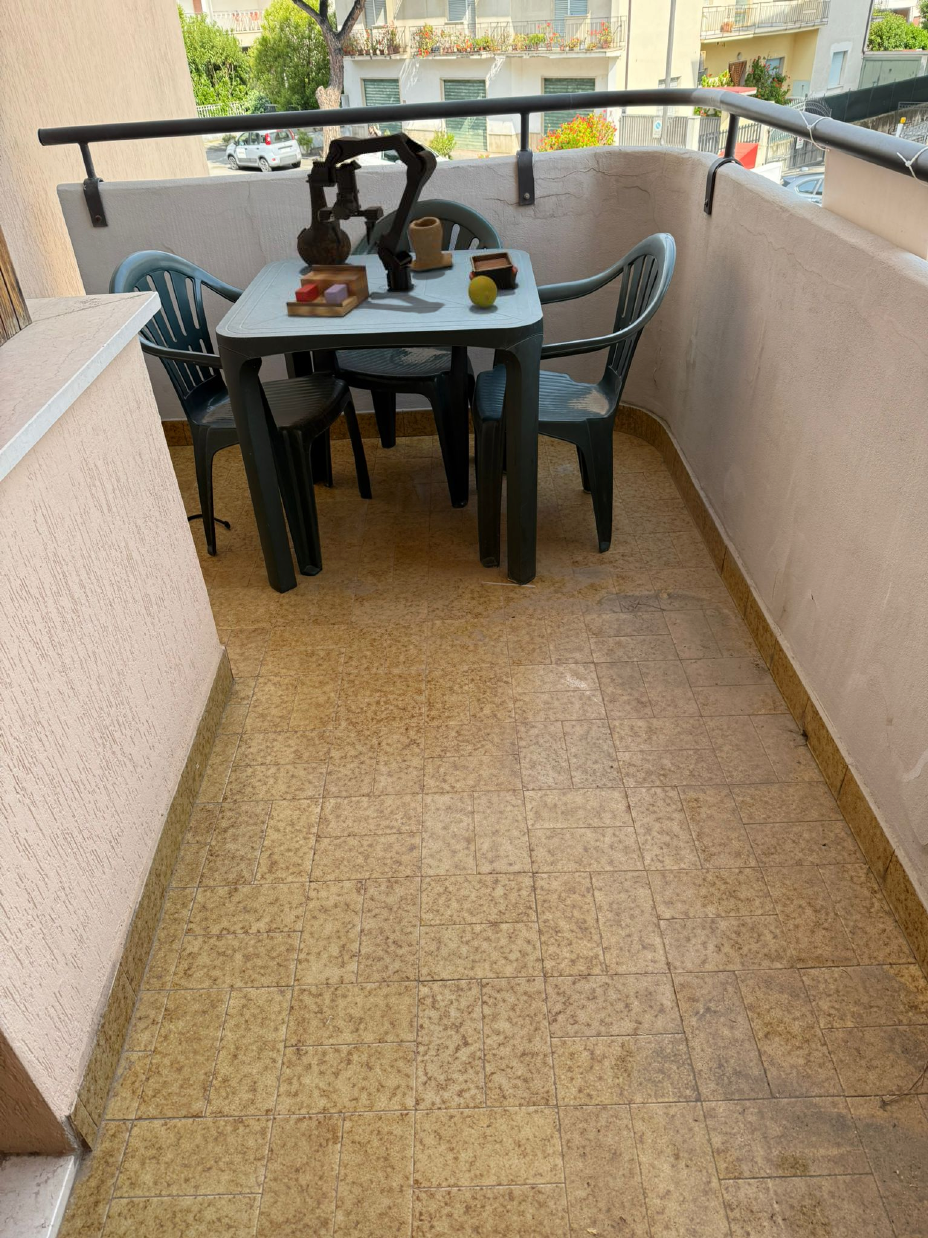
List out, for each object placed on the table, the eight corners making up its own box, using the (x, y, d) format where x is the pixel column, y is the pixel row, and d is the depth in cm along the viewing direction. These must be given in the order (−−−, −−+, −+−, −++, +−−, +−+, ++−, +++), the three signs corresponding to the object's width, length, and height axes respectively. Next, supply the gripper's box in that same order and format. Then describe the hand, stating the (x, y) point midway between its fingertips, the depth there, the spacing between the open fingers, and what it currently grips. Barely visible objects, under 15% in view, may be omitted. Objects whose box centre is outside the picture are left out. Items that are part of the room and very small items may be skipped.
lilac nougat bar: (348, 296, 240) (346, 284, 238) (337, 304, 234) (336, 292, 232) (336, 296, 241) (334, 284, 239) (326, 304, 235) (324, 291, 233)
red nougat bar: (319, 296, 243) (317, 284, 241) (308, 304, 237) (306, 291, 235) (307, 296, 244) (305, 283, 242) (296, 303, 238) (294, 291, 236)
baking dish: (468, 300, 245) (468, 266, 238) (469, 274, 258) (469, 241, 250) (517, 301, 245) (519, 267, 238) (516, 275, 257) (518, 242, 250)
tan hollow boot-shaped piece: (414, 276, 264) (409, 224, 255) (406, 267, 273) (401, 217, 264) (460, 269, 266) (457, 218, 257) (451, 261, 276) (447, 211, 267)
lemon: (500, 310, 229) (499, 279, 224) (472, 313, 228) (470, 282, 224) (493, 299, 238) (492, 269, 233) (466, 302, 237) (464, 272, 232)
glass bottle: (310, 260, 289) (295, 169, 273) (359, 258, 286) (348, 166, 270) (293, 273, 275) (276, 179, 259) (345, 272, 272) (331, 176, 256)
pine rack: (369, 295, 249) (365, 264, 244) (343, 316, 234) (338, 284, 229) (317, 294, 254) (312, 264, 249) (288, 315, 238) (282, 283, 233)
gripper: (306, 193, 238) (315, 251, 247) (367, 191, 233) (374, 251, 242) (321, 185, 246) (330, 242, 256) (381, 184, 242) (387, 242, 251)
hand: (354, 244), depth 251 cm, fingers open, 9 cm apart
